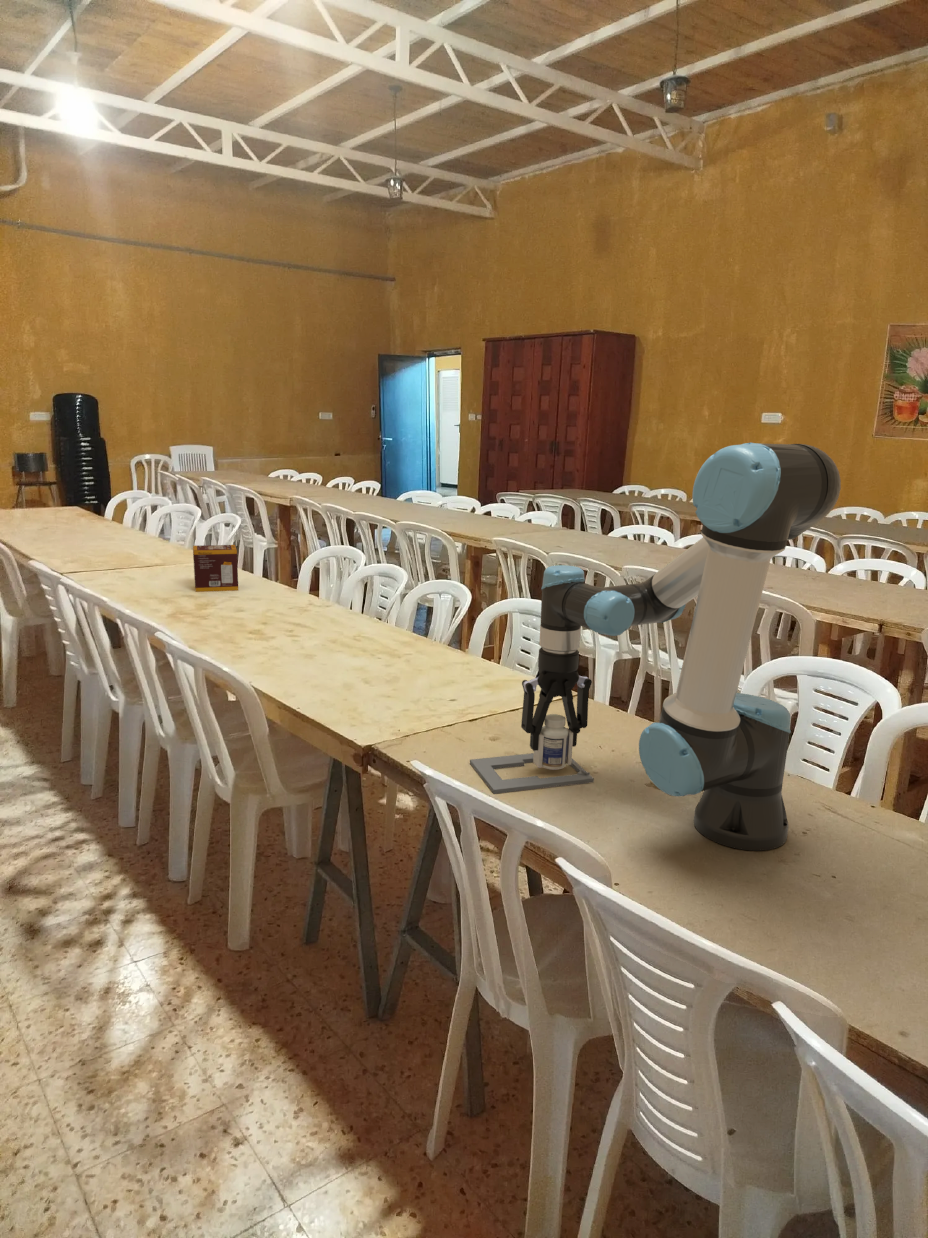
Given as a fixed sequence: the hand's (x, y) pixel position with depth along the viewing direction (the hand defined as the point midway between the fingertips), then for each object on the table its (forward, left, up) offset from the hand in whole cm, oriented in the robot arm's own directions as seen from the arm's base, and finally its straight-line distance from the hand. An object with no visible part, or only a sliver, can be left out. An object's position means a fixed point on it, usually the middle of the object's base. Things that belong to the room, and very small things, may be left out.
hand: (552, 763), depth 164 cm
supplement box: (+182, +56, -2) cm, 191 cm away
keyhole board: (0, +4, -2) cm, 5 cm away
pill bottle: (0, 0, -1) cm, 1 cm away
